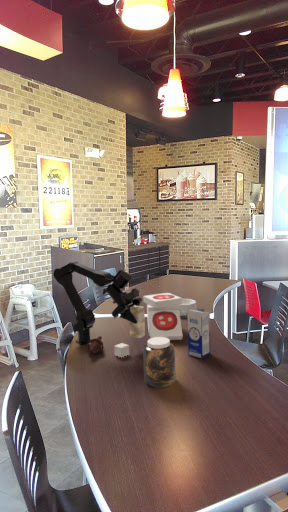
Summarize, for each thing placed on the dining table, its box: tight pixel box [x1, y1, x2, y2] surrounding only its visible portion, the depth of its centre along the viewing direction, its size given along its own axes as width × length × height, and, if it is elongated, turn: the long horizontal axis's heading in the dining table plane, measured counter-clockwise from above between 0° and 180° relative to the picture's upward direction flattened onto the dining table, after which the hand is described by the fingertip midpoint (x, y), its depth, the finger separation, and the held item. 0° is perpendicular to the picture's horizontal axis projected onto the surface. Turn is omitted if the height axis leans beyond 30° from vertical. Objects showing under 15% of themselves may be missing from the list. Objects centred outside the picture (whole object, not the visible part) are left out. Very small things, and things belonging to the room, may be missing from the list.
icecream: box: [87, 335, 104, 355], centre depth 165 cm, size 7×7×15 cm
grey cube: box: [114, 342, 130, 359], centre depth 161 cm, size 4×4×4 cm
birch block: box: [128, 305, 146, 339], centre depth 165 cm, size 5×5×13 cm
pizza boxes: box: [142, 292, 184, 341], centre depth 186 cm, size 19×30×18 cm, turn 3°
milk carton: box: [186, 308, 211, 359], centre depth 158 cm, size 7×7×20 cm
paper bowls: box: [178, 298, 197, 317], centre depth 223 cm, size 15×15×8 cm
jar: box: [142, 337, 177, 389], centre depth 135 cm, size 12×12×15 cm
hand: (139, 321), depth 164 cm, fingers closed on birch block, 5 cm apart
